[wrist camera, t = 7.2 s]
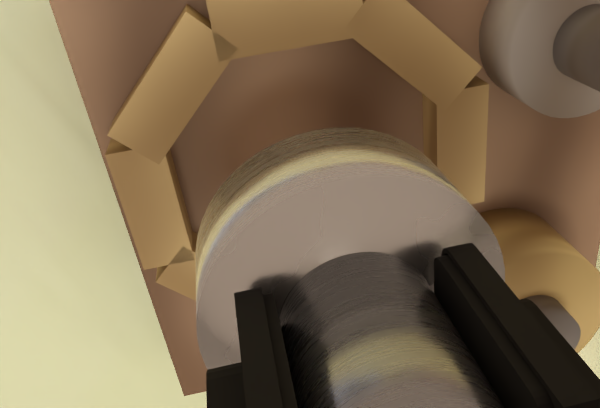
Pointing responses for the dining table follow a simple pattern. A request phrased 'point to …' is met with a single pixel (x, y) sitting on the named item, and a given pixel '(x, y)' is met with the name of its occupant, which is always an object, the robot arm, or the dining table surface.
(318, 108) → the carrier board
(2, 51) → the dining table surface
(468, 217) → the knobbed round disc
